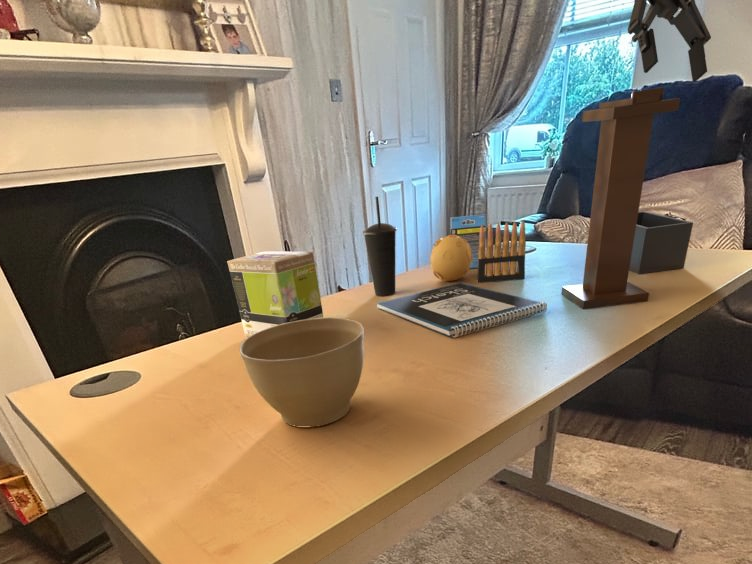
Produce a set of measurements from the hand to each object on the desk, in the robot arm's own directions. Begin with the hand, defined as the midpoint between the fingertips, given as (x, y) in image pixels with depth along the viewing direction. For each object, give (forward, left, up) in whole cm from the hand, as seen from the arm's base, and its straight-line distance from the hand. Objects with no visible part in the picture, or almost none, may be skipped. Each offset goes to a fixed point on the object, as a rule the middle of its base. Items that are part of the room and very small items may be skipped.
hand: (676, 72), depth 107 cm
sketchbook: (+38, +42, -34) cm, 66 cm away
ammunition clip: (+32, +18, -34) cm, 50 cm away
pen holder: (+2, +7, -34) cm, 35 cm away
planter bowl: (+49, +91, -34) cm, 109 cm away
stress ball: (+44, +16, -34) cm, 58 cm away
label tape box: (+42, +3, -34) cm, 54 cm away
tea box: (+71, +55, -34) cm, 96 cm away
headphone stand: (+10, +36, -34) cm, 51 cm away
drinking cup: (+58, +26, -34) cm, 72 cm away
